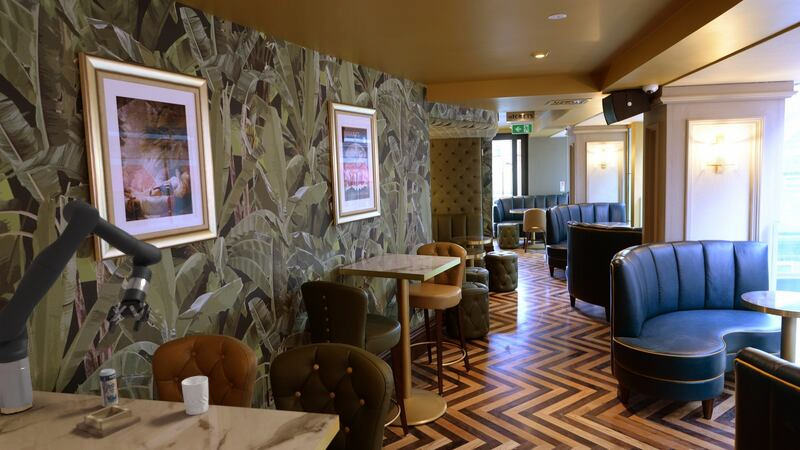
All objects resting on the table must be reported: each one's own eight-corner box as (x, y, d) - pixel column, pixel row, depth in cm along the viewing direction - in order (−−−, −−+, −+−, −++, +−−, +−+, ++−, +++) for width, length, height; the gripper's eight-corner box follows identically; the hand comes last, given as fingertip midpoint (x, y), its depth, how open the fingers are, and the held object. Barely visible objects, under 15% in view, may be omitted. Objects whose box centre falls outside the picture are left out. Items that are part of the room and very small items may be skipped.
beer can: (106, 409, 180) (103, 373, 179) (99, 406, 183) (96, 371, 182) (121, 404, 184) (117, 369, 183) (114, 401, 187) (111, 366, 186)
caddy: (76, 428, 167) (75, 416, 167) (114, 412, 177) (113, 401, 177) (103, 437, 160) (102, 425, 159) (140, 420, 170) (139, 409, 170)
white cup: (182, 417, 171) (180, 386, 170) (185, 407, 179) (183, 377, 178) (209, 413, 173) (207, 382, 172) (211, 403, 181) (208, 374, 180)
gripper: (112, 288, 200) (97, 327, 190) (150, 286, 200) (138, 325, 190) (121, 299, 206) (107, 338, 196) (158, 297, 206) (147, 336, 196)
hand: (122, 332), depth 193 cm, fingers open, 8 cm apart
